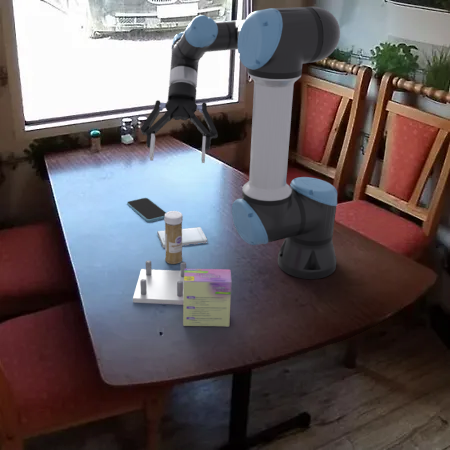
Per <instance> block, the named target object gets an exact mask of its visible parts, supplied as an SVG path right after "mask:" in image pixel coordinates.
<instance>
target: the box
mask: <svg viewBox="0 0 450 450" xmlns="http://www.w3.org/2000/svg"><path fill="white" fill-rule="evenodd" d="M231 271H232V270H231V269H225V268H223V269H220V268H186V269H185V270H184V290H183V305H182V307H183V308H182V309H183V311H182V312H183V313H182V317H183V318H182V325H183V326H184V327H225V328H226V327H227V328H228V327H230V324H231V323H230V321H231V318H230V317H231V303H232V301H231V300H232V273H231Z"/></svg>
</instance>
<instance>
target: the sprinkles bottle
mask: <svg viewBox="0 0 450 450" xmlns="http://www.w3.org/2000/svg"><path fill="white" fill-rule="evenodd" d="M183 217H184V216H183V213H182V212H180V211H178V210H172V211H171V210H170V211H166V213H165V217H164V219H163V220H164V225H165V226H164V227H165V228H164V231H165V248H164V249H165V259H164V261H165V262H166V263H168V264H169V265H170V264H171V265H177V264H181V262H183V246H182V229H183Z"/></svg>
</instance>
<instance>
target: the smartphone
mask: <svg viewBox="0 0 450 450" xmlns="http://www.w3.org/2000/svg"><path fill="white" fill-rule="evenodd" d="M126 205H128V207H129V208H130V209H131V210H133V211H134V212H135V213H136V214H137V215H138V216H139V217H141V219H143V220H144V221H145V222H147V223H151V222H156V221H160V220H164V217H165V213H167V211H165V210H164V209H163V208H161V206H159V205H158V204H156V203H155V202H154V201H153V200H151V199H150V198H148V197H141V198H137V199H133V200H129V201H127V202H126Z"/></svg>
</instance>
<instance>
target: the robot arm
mask: <svg viewBox="0 0 450 450" xmlns="http://www.w3.org/2000/svg"><path fill="white" fill-rule="evenodd" d="M340 37H341V29H340V25H339V22H338V20H337V17H336V16H334V15H333V13H331V12H330V11H329V10H327V9H325V8H322V7H319V6H301V7H278V8H277V7H275V8H271V7H269V8H265V9H260V10H259V9H258V10H255V11H253V12H251V13H249V14H248V15H247V17H245V19H236V20H225V21H224V20H223V21H222V20H221V21H220V20H219V21H215V20H214V19H213V18H212V17H209V16H206V15H203V14H202V15H201V14H200V15H197V16H195V17H194V18H193V19H192V20H191V22H189V23H188V24H187V26H186V28H185V30H184V31H181V32H179V33H177V34H175V35H174V37H173V41H172V44H171V57H170V58H171V59H170V60H171V61H170V72H169V81H168V85H169V86H168V94H167V95H168V96H167V101H166V102H161V101H160V100H159V99H157V100H156V101H155V103H154V107H153V109H152V111H151V112H150V114H149V115H148V117H147V118H146V120H145V121H144V122H143V124H142V125H141V127H140V131H141V134H142V135H143V136H144V135H145V136H146V146H147V148H148V149H149V155H148V156H149V160H150V161H154V156H155V145H156V134H157V133H158V132H159V131H161V129H162V128H163V127H165V125H166V124H168V123H169V122H170V121H172V119H174V121H179V120H180V121H187V120H189V121H190V122H191V123H193V125H194V126H195V127H196V129H197V130H198V131H199V132H200V134H201V135H202V145H201V164H205V162H206V151H210V150H211V140H212V139H217V138H218V131H217V129H216V126H215V124H214V122H213V120H212V118H211V116H210V114H209V111H208V107H207V102H206V101H205V102H202V103H200V104H197V103H196V101H197V87H198V76H199V75H198V74H199V73H198V72H199V70H198V69H199V62H200V60H201V58H203V56H204V54H206V53H208V52H219V51H231V50H237V51H238V52H237V53H238V54H239V56H238V57H239V59H240V60H239V61H240V63H241V64H242V65H243V66H244V67H245V68H247V74H248V77H249V76H250V78H251V79H252V80H253V82H254V83H253V96H252V97H253V100H252V122H251V123H252V124H251V140H250V141H251V143H250V158H249V159H250V160H249V161H250V163H249V180H248V181H247V182H246V183H244V185H242V192H241V193H242V194H241V197H239V198H237V199H236V200H234V202H232V205H231V215H232V216H231V217H232V222H233V224H234V227H235V229H236V232H237V234H238V235H239V236H240V238H241V239H242V240H243V242H244V243H246V244H248V245H250V246H259V245H266V244H268V243H272V242H275V241H281V240H283V239H284V240H283V243H282V244H281V246H280V249H279V251H278V254H277V265H278V267H279V268H280V269H281V271H282V272H284V273H286V274H287V275H290V276H292V277H295V278H299V279H306V280H318V279H324V278H327V277H329V276H331V275H333V273H334V272H335V270H336V267H337V256H336V253H335V248H334V247H335V246H334V244H333V243H334V242H333V234H334V227H335V220H336V212H337V206H338V190H337V188H336V187H335V186H334V185H332V184H331V183H330V182H328V181H326V180H322V179H319V178H316V177H311V176H310V177H308V176H301V177H299V176H298V177H296V178H294V179H292V180H291V182H290V185H289V184H288V183H287V175H288V174H287V173H288V161H289V160H288V159H289V146H290V136H291V135H290V134H291V123H292V122H291V121H292V109H293V108H292V107H293V96H294V85H295V82H297V81H298V80H299V79H301V77H302V72H303V64H309V63H310V64H311V63H315V62H319V61H322V60H324V59H325V58H327V57H329V56H331V54H332V53H333V52H334V51H335V49H337V47H338V44H339V42H340ZM164 109H166V111H165V113H164V114H163V115H162V116H161V117H160V118H159V119H158V120H157V118H158V116H159V114H160V113H161V112H162V111H163V110H164ZM197 110H198V111H199V113H200V114H202V116H203V119H204V121H205V122H206V125H207V128H208V129H207V128H206V126H205V125H204V124H203V122H202V121H201V120H200V119H199V118H198V117H197V115H196V114H195V113H196V112H197ZM156 120H157V121H156ZM155 121H156V122H155Z"/></svg>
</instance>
